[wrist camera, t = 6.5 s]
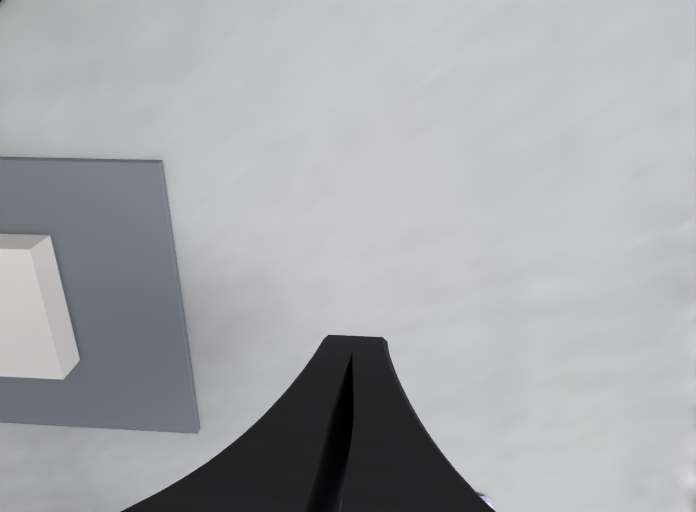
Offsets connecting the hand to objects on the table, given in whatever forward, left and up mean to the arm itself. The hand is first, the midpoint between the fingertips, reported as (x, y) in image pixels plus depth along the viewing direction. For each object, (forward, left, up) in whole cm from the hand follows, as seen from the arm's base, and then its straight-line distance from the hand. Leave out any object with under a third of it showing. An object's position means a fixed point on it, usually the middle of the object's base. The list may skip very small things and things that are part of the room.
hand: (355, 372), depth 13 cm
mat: (-5, +14, -10) cm, 18 cm away
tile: (-4, +13, -9) cm, 16 cm away
